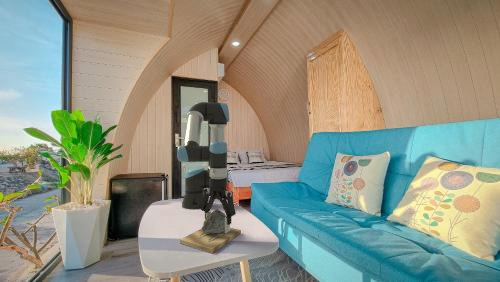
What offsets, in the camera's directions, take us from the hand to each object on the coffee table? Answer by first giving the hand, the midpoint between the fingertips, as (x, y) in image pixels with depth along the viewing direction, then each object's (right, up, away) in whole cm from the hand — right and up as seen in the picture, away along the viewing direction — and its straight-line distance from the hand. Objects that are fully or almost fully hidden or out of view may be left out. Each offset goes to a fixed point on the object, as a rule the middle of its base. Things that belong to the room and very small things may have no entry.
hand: (217, 229), depth 94 cm
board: (-2, -2, -4) cm, 5 cm away
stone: (-1, -1, 0) cm, 1 cm away
